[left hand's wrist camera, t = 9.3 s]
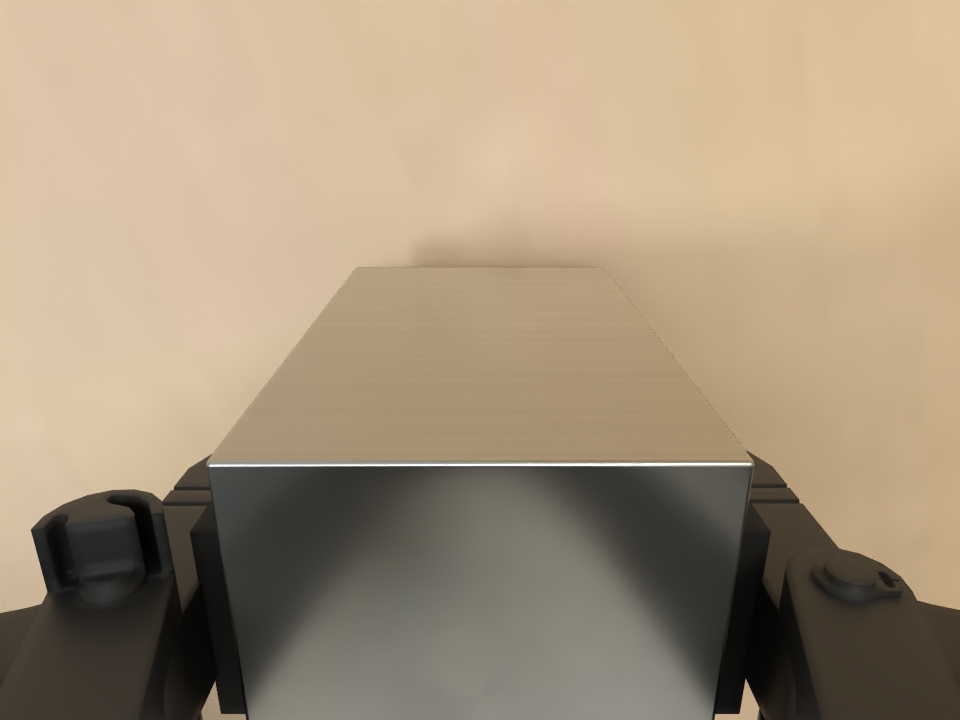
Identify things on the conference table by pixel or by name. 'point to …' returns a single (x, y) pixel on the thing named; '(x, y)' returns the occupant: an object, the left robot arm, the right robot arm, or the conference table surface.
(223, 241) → the conference table surface
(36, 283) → the conference table surface
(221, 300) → the conference table surface
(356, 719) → the brick
